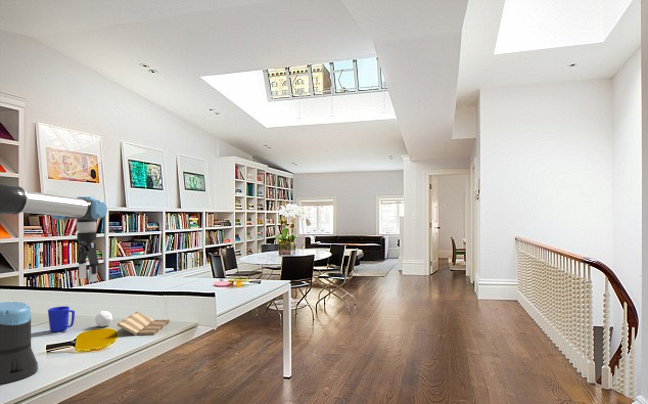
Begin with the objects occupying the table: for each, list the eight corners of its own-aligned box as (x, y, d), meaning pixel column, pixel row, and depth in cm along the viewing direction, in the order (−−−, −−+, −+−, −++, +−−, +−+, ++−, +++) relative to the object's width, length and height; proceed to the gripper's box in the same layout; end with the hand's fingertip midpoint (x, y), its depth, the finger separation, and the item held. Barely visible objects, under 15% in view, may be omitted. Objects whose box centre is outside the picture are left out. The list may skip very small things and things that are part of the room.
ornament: (93, 329, 194) (89, 313, 198) (105, 330, 201) (101, 315, 204) (105, 321, 194) (102, 305, 197) (117, 323, 200) (113, 308, 204)
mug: (67, 333, 188) (66, 311, 188) (43, 332, 191) (43, 310, 191) (81, 328, 196) (80, 306, 196) (58, 327, 199) (58, 306, 199)
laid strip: (154, 334, 184) (154, 331, 184) (136, 335, 183) (136, 332, 183) (170, 322, 204) (169, 319, 204) (154, 322, 203) (154, 319, 203)
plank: (135, 335, 183) (137, 332, 183) (116, 325, 183) (118, 322, 183) (153, 322, 203) (154, 319, 203) (136, 313, 203) (137, 310, 203)
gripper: (106, 231, 183) (107, 281, 183) (86, 230, 200) (87, 276, 200) (87, 233, 178) (88, 284, 178) (68, 231, 195) (69, 278, 195)
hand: (87, 280), depth 189 cm, fingers open, 13 cm apart
